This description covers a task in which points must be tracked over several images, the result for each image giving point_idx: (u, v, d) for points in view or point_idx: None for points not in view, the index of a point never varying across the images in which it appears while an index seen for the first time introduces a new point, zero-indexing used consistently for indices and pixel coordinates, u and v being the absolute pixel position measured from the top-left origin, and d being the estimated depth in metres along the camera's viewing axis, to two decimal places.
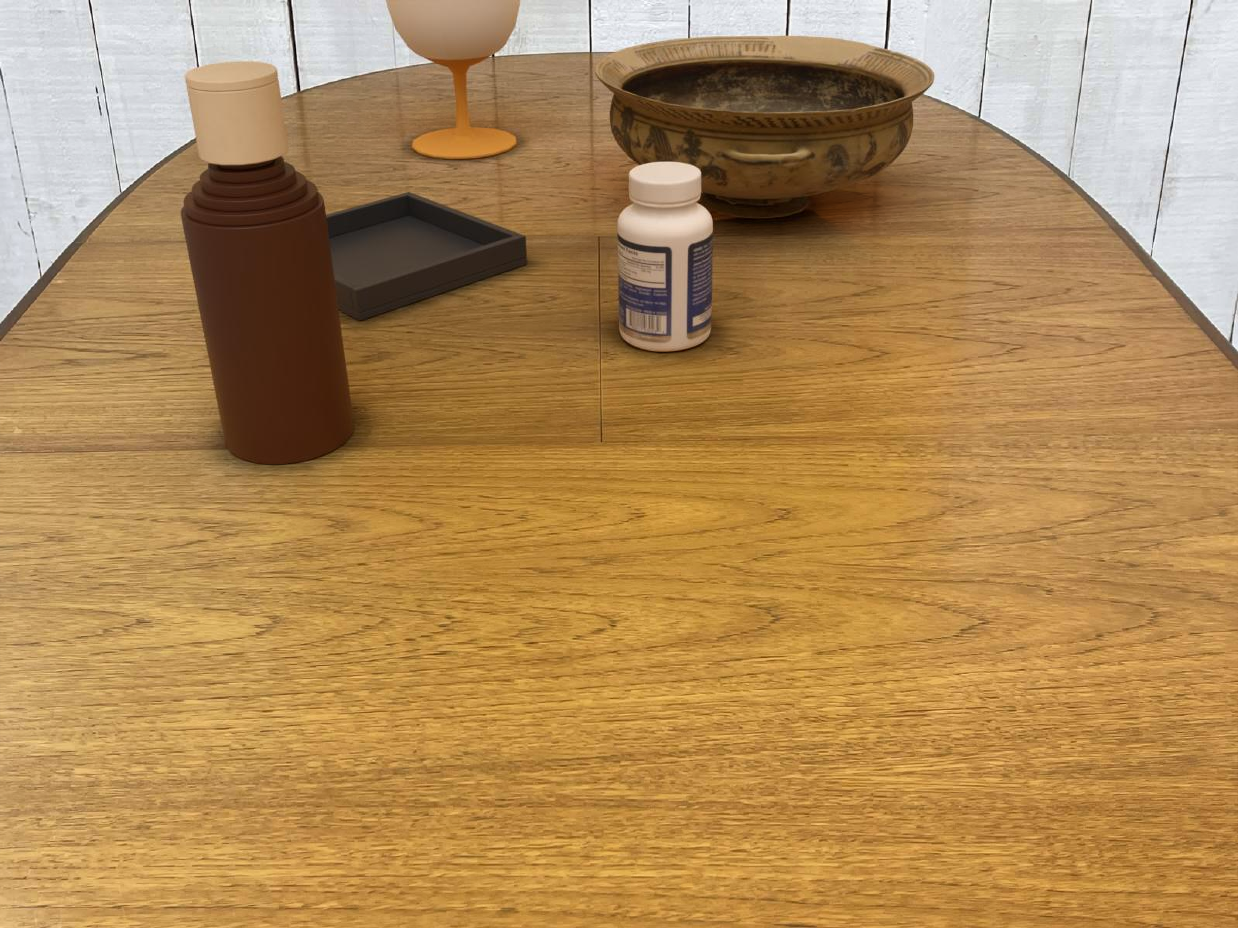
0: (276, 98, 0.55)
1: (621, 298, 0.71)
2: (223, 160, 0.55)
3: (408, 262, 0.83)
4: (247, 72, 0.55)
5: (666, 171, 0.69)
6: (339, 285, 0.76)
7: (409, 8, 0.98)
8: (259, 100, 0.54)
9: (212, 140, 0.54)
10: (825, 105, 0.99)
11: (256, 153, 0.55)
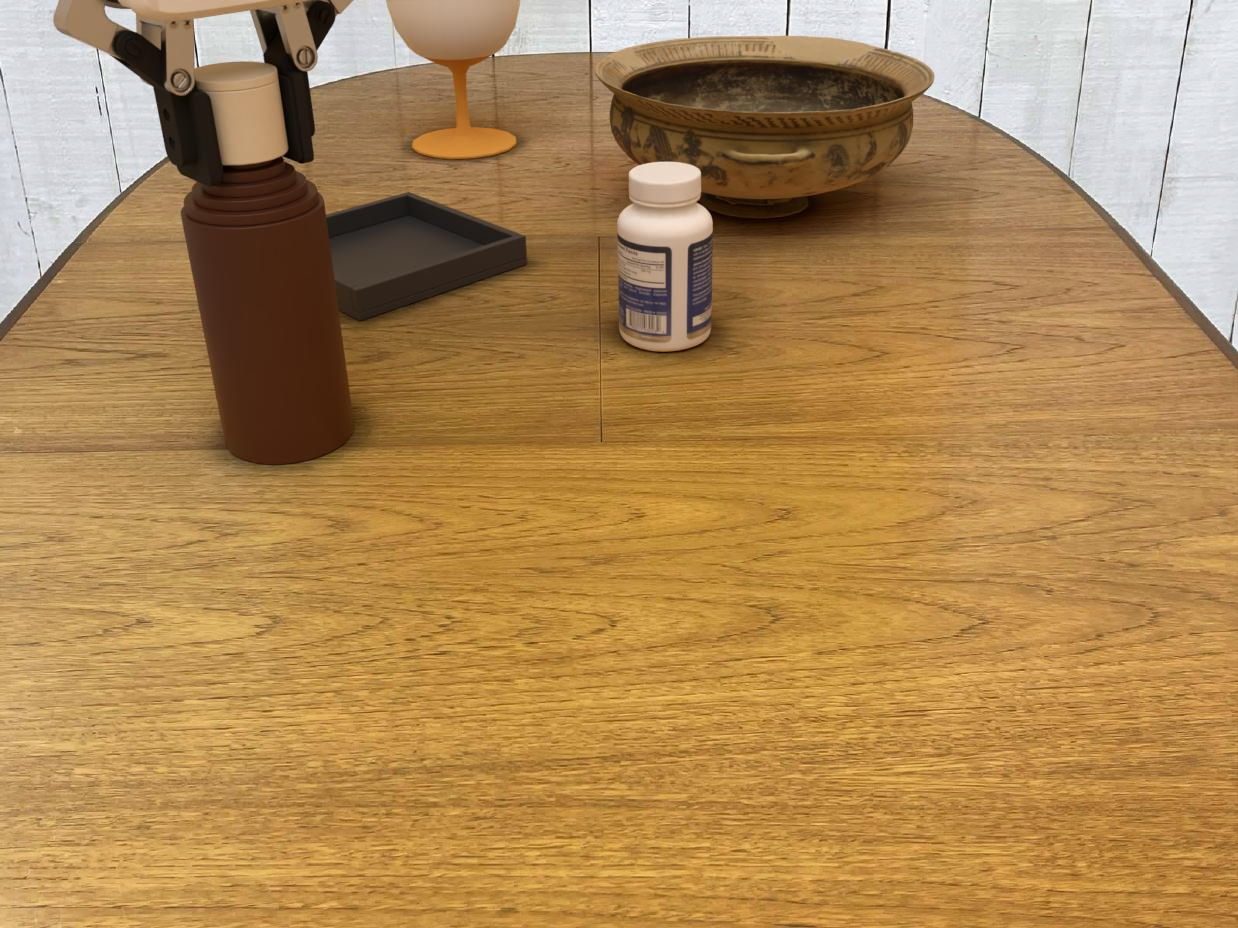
0: (276, 98, 0.55)
1: (621, 298, 0.71)
2: (223, 160, 0.55)
3: (408, 262, 0.83)
4: (247, 72, 0.55)
5: (666, 171, 0.69)
6: (339, 285, 0.76)
7: (409, 8, 0.98)
8: (259, 100, 0.54)
9: None
10: (825, 105, 0.99)
11: (256, 153, 0.55)
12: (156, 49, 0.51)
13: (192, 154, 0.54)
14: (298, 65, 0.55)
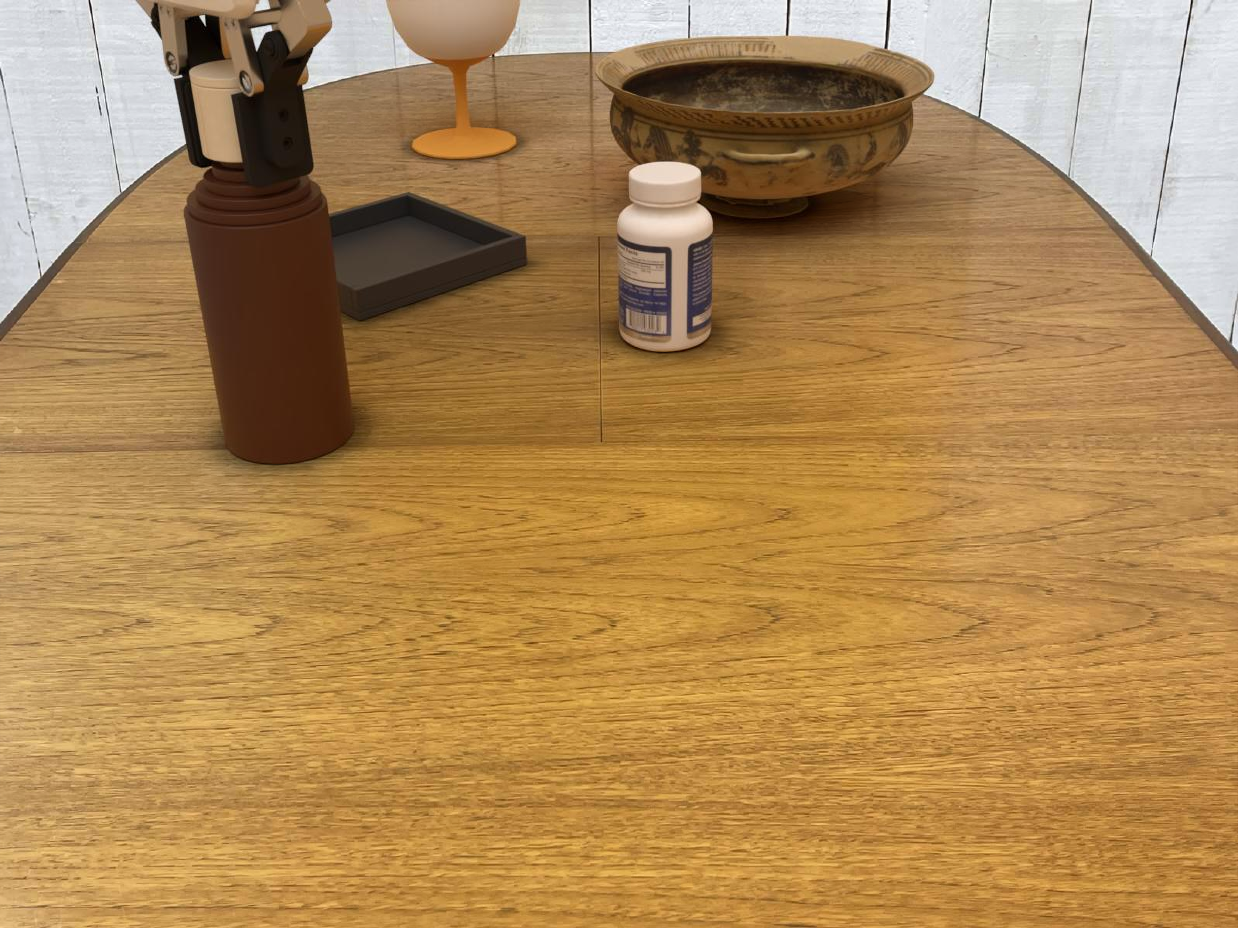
0: None
1: (621, 298, 0.71)
2: None
3: (408, 262, 0.83)
4: None
5: (666, 171, 0.69)
6: (339, 285, 0.76)
7: (409, 8, 0.98)
8: None
9: None
10: (825, 105, 0.99)
11: None
12: None
13: None
14: None
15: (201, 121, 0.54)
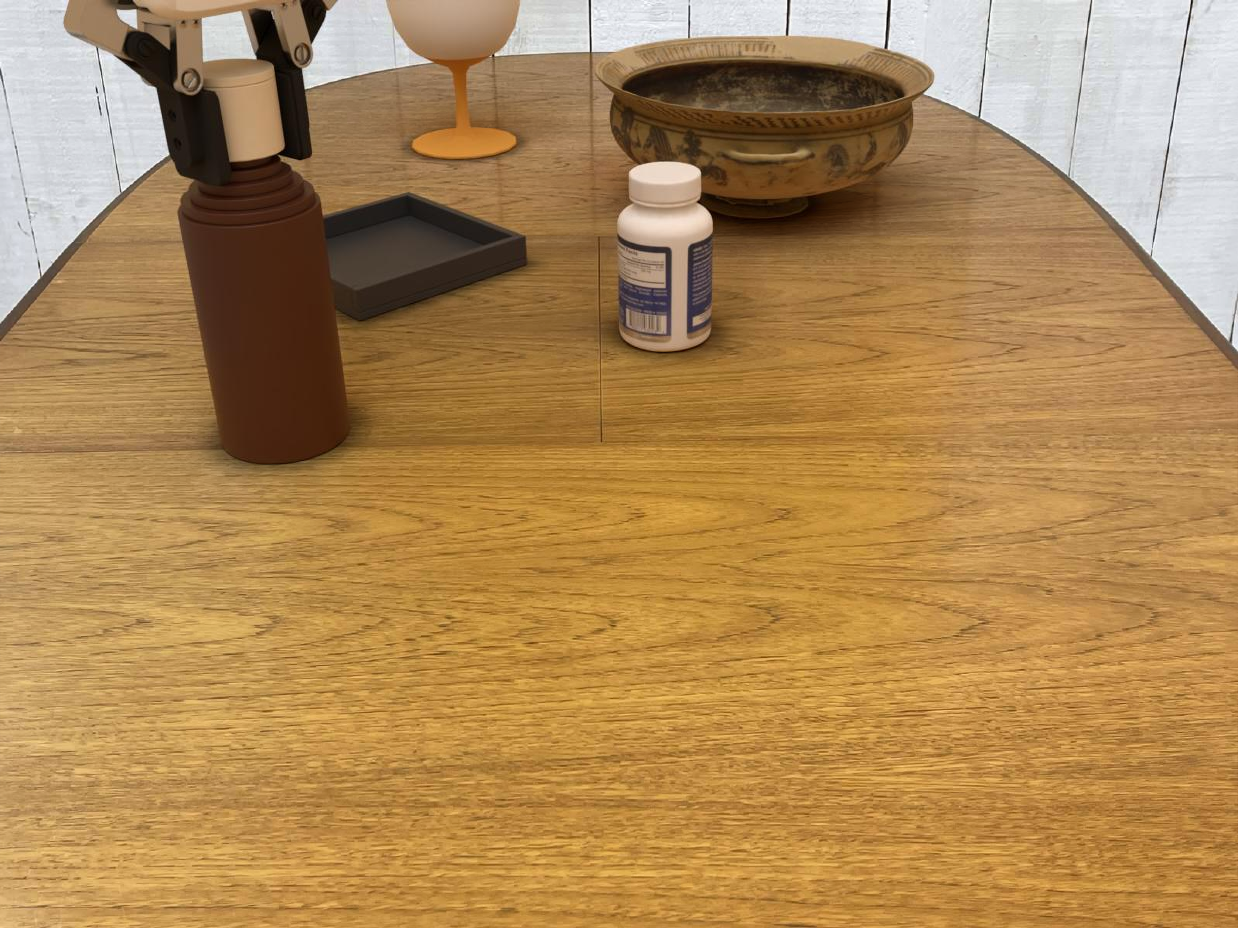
0: None
1: (621, 298, 0.71)
2: (283, 144, 0.56)
3: (408, 262, 0.83)
4: (233, 64, 0.55)
5: (666, 171, 0.69)
6: (339, 285, 0.76)
7: (409, 8, 0.98)
8: None
9: (276, 127, 0.56)
10: (825, 105, 0.99)
11: None
12: (165, 49, 0.51)
13: (199, 154, 0.54)
14: (295, 62, 0.56)
15: None
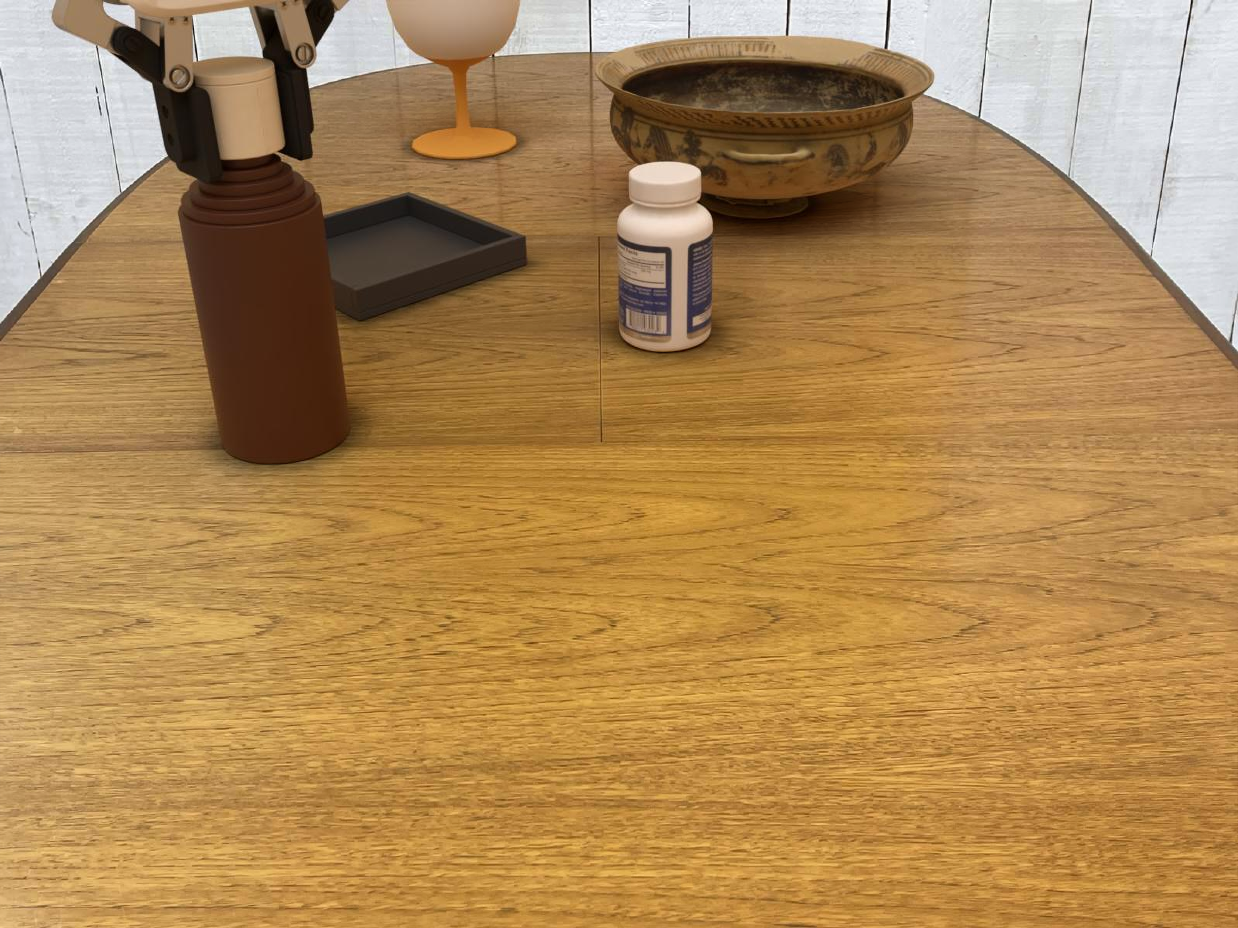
0: None
1: (621, 298, 0.71)
2: None
3: (408, 262, 0.83)
4: (210, 65, 0.55)
5: (666, 171, 0.69)
6: (339, 285, 0.76)
7: (409, 8, 0.98)
8: None
9: None
10: (825, 105, 0.99)
11: None
12: (155, 45, 0.51)
13: (191, 151, 0.54)
14: (297, 62, 0.55)
15: (260, 118, 0.54)
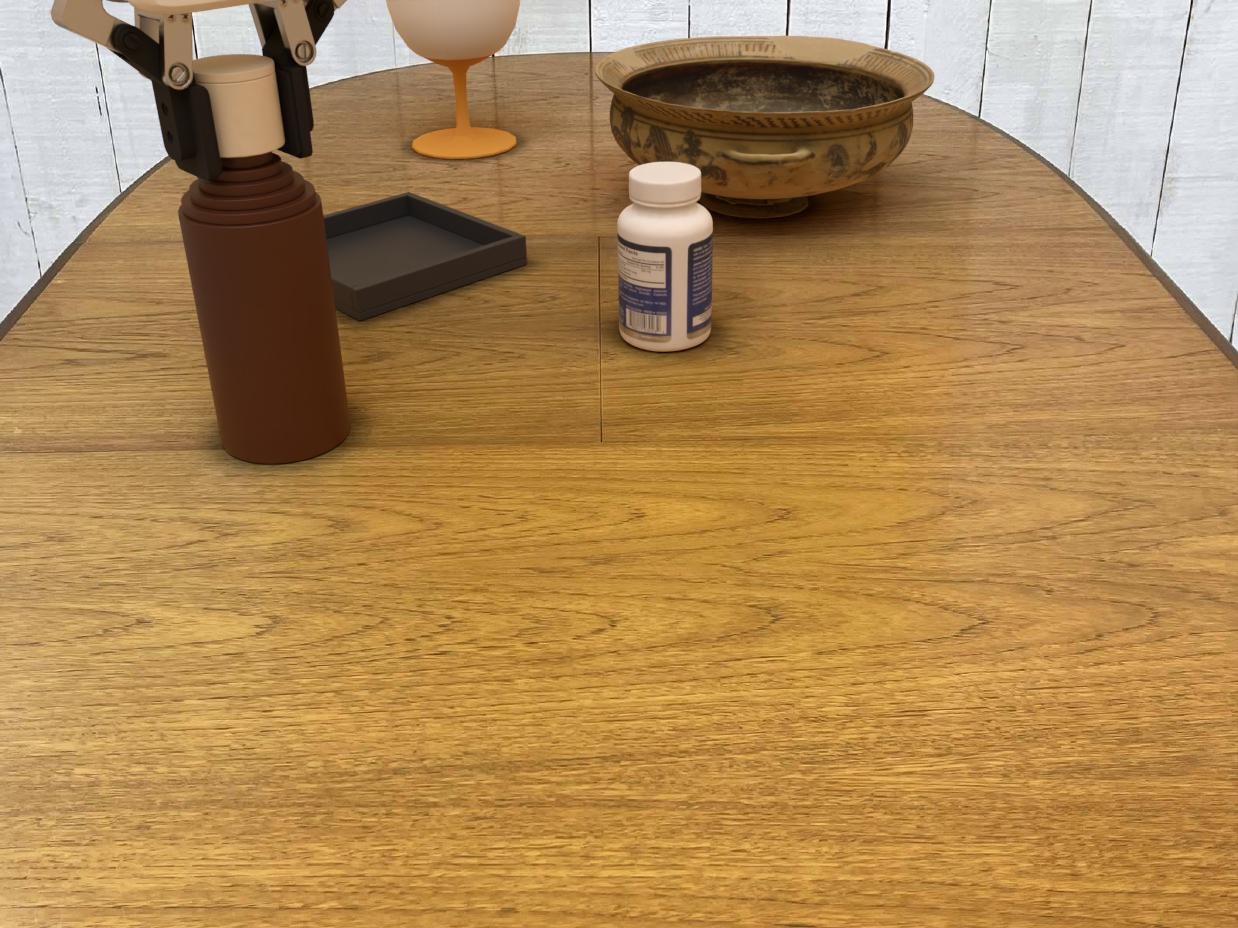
0: (221, 101, 0.54)
1: (621, 298, 0.71)
2: None
3: (408, 262, 0.83)
4: (221, 68, 0.54)
5: (666, 171, 0.69)
6: (339, 285, 0.76)
7: (409, 8, 0.98)
8: None
9: None
10: (825, 105, 0.99)
11: None
12: (154, 43, 0.51)
13: (190, 148, 0.54)
14: (297, 59, 0.55)
15: None
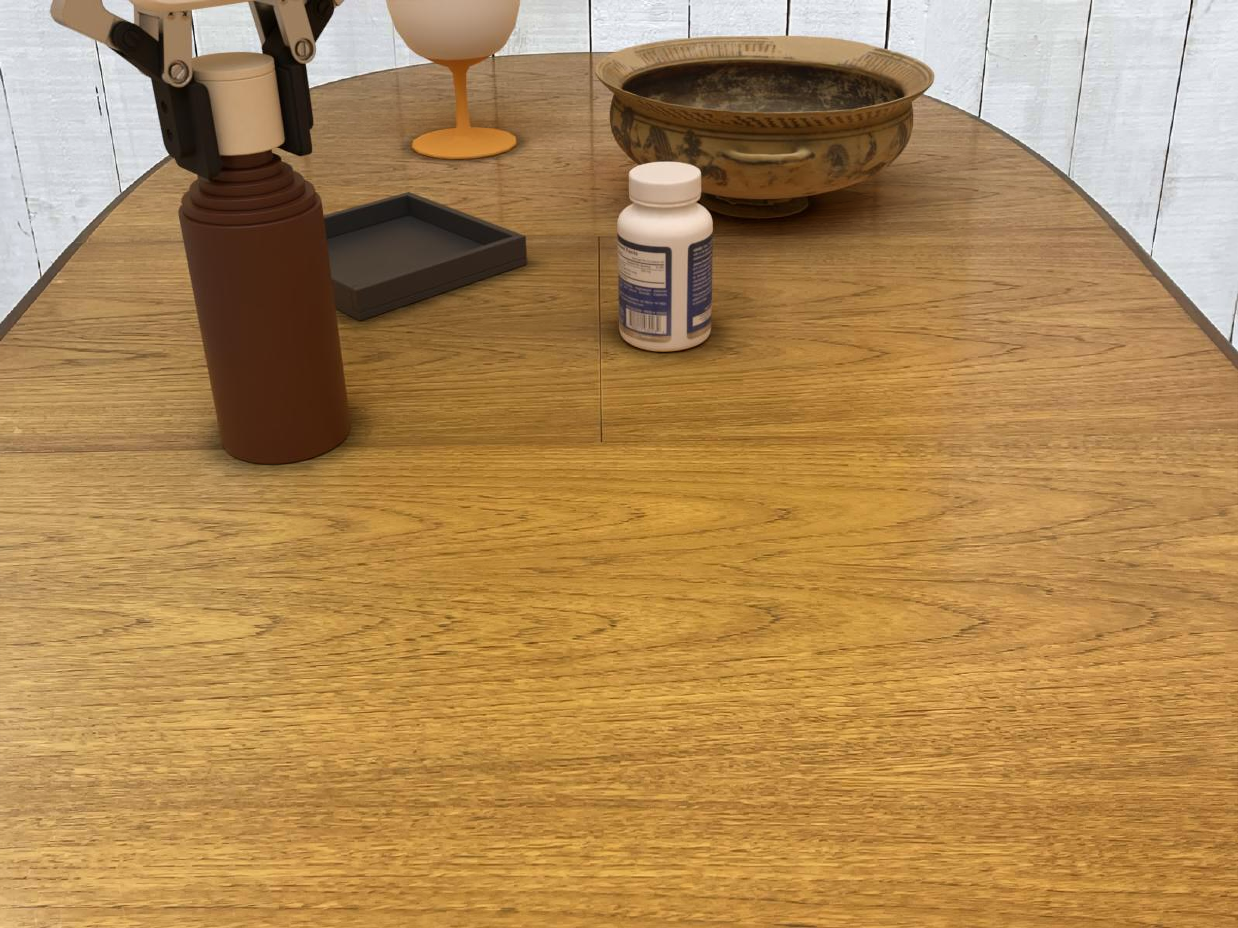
0: (276, 86, 0.55)
1: (621, 298, 0.71)
2: (229, 150, 0.55)
3: (408, 262, 0.83)
4: (246, 61, 0.55)
5: (666, 171, 0.69)
6: (339, 285, 0.76)
7: (409, 8, 0.98)
8: (264, 88, 0.54)
9: (218, 130, 0.54)
10: (825, 105, 0.99)
11: (262, 142, 0.55)
12: (154, 40, 0.51)
13: (190, 146, 0.54)
14: (296, 57, 0.55)
15: None
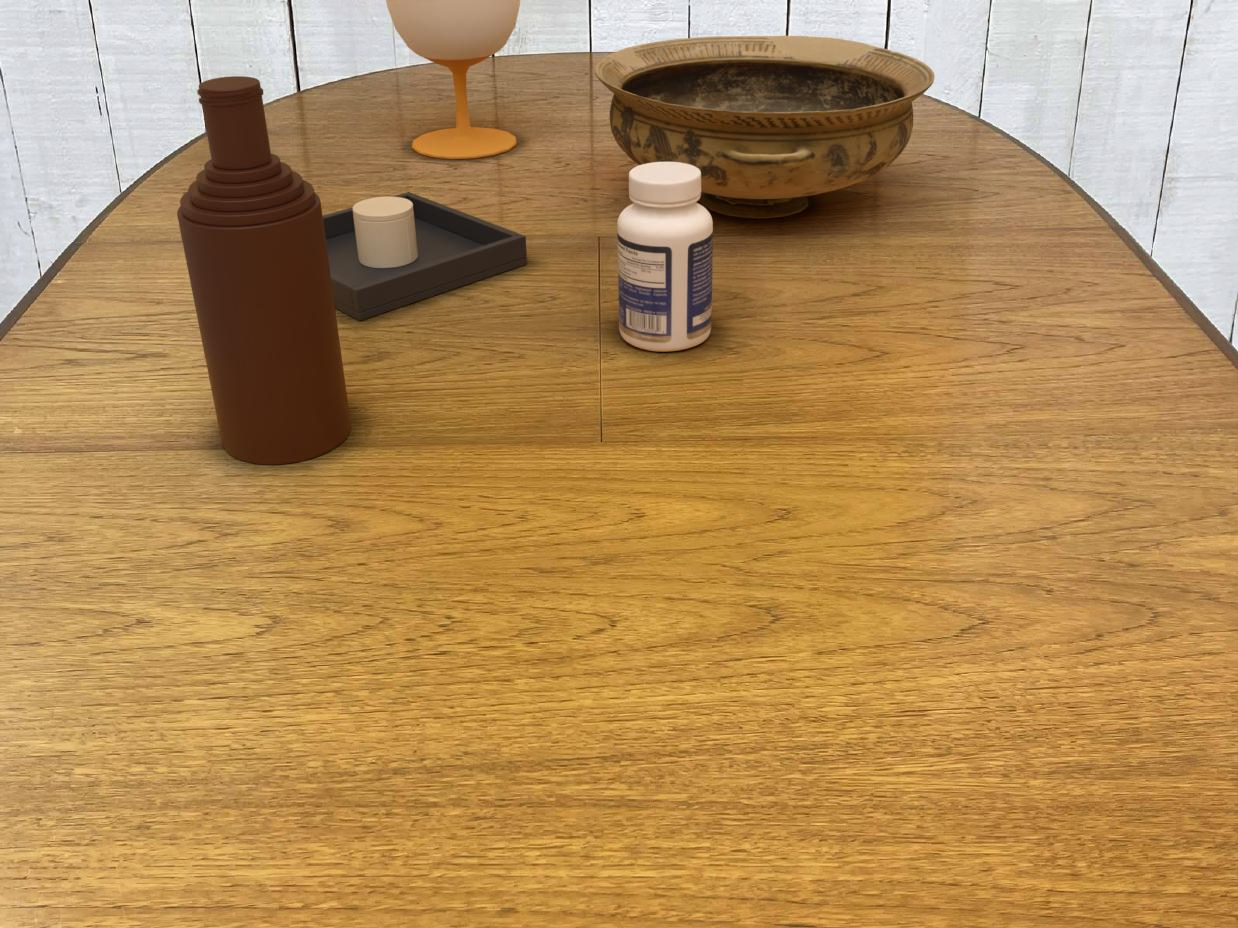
0: (355, 223, 0.82)
1: (621, 298, 0.71)
2: None
3: None
4: (370, 206, 0.82)
5: (666, 171, 0.69)
6: (339, 285, 0.76)
7: (409, 8, 0.98)
8: None
9: None
10: (825, 105, 0.99)
11: None
12: None
13: None
14: None
15: (408, 239, 0.82)
